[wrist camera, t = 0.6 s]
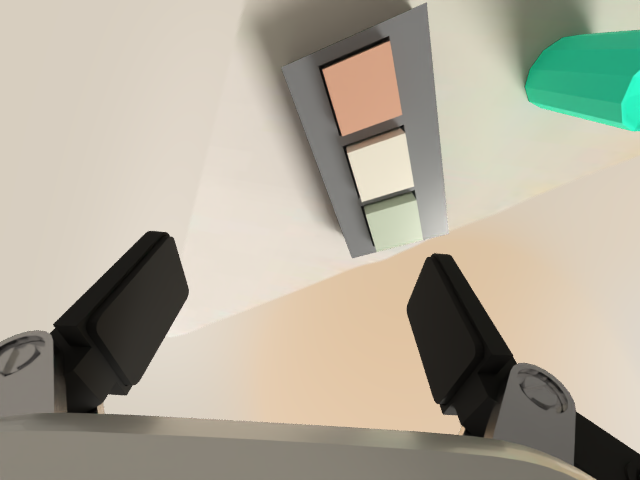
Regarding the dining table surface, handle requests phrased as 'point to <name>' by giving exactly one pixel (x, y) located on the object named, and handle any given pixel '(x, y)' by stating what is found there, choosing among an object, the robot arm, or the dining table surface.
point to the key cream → (381, 164)
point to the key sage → (394, 221)
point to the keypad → (376, 125)
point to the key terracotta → (364, 88)
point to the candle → (590, 78)
